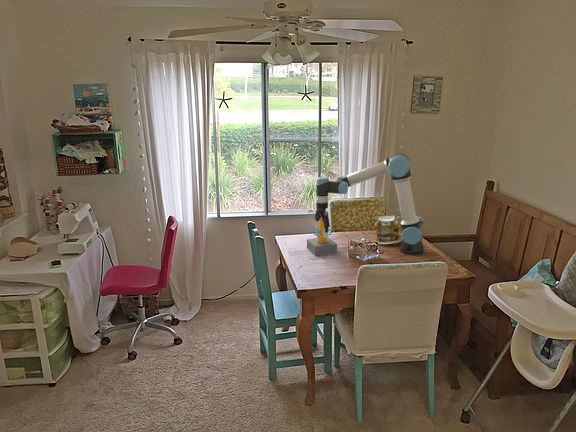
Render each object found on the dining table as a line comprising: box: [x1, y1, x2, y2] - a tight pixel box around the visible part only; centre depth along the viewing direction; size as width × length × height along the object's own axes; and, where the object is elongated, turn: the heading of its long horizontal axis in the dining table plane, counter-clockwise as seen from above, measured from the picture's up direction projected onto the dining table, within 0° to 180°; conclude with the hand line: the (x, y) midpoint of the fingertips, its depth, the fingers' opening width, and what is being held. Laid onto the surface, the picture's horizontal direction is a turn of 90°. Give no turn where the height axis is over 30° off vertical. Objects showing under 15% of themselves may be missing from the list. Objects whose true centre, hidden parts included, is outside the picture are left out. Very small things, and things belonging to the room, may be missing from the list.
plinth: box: [306, 236, 338, 256], centre depth 318 cm, size 15×15×6 cm
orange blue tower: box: [312, 218, 333, 243], centre depth 315 cm, size 12×10×15 cm
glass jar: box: [373, 215, 403, 245], centre depth 334 cm, size 25×25×17 cm
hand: (321, 233), depth 316 cm, fingers open, 13 cm apart
